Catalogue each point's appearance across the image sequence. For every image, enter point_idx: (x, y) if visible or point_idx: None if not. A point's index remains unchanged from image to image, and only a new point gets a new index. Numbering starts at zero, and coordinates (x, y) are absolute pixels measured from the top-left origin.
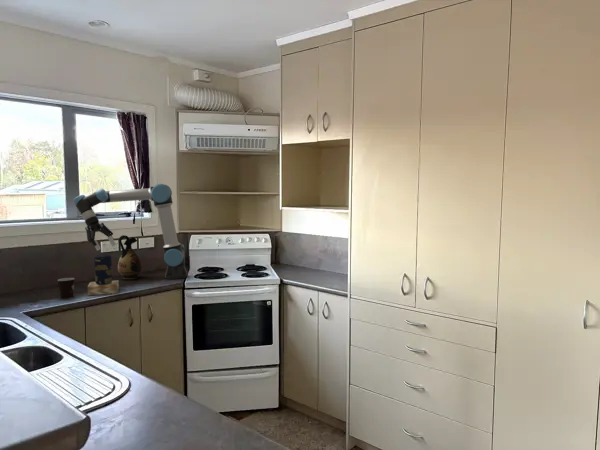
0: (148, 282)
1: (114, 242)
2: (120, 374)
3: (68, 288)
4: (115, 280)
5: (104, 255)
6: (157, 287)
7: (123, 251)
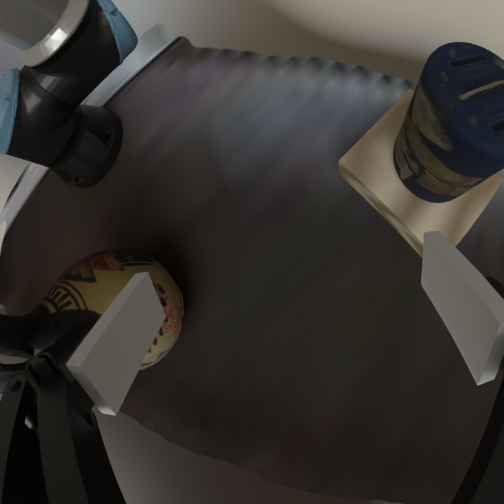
0: (190, 156)
1: (129, 288)
2: None
3: None
4: (352, 169)
5: (482, 71)
6: (252, 57)
7: (80, 337)
